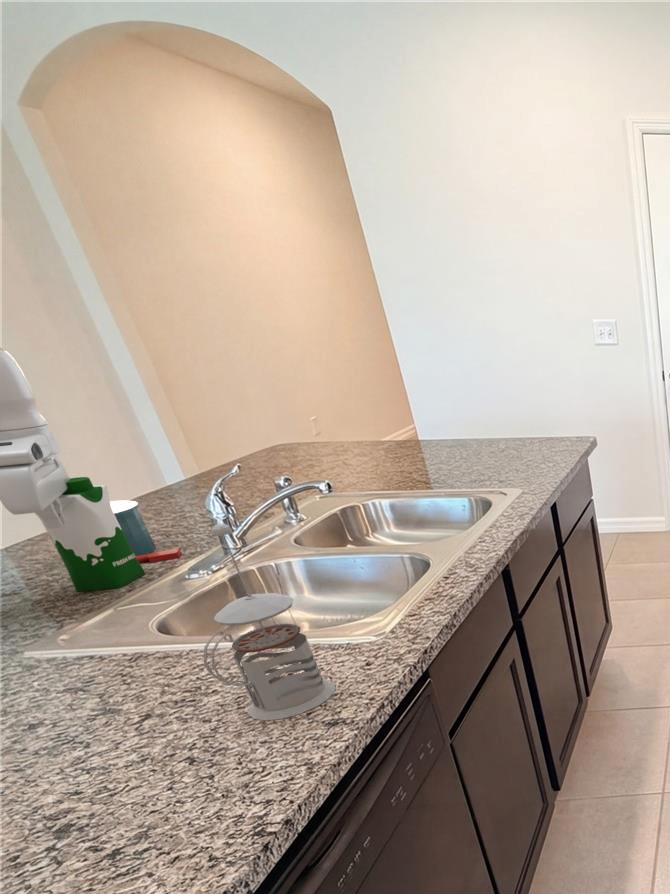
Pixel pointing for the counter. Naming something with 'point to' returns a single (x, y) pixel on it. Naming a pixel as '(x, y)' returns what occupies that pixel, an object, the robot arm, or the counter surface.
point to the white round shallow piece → (123, 506)
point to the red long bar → (160, 556)
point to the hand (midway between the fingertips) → (57, 526)
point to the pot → (136, 532)
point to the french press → (270, 655)
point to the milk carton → (93, 539)
